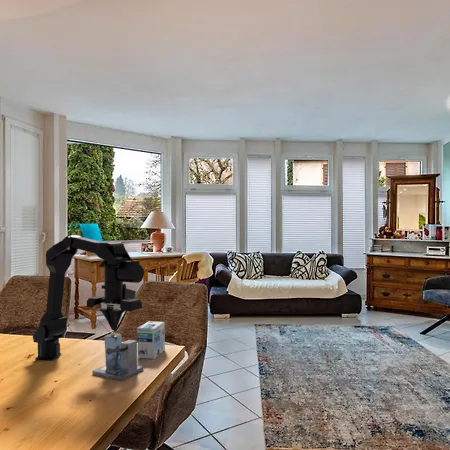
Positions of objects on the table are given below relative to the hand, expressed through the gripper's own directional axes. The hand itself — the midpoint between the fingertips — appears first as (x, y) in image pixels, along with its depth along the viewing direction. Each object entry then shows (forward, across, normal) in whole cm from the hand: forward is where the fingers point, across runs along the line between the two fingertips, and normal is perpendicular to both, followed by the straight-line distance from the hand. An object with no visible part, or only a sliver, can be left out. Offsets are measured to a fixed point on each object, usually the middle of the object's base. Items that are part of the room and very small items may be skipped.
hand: (114, 330), depth 124 cm
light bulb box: (+14, 0, -19) cm, 23 cm away
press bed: (+13, -1, +2) cm, 13 cm away
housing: (+12, 0, 0) cm, 12 cm away
